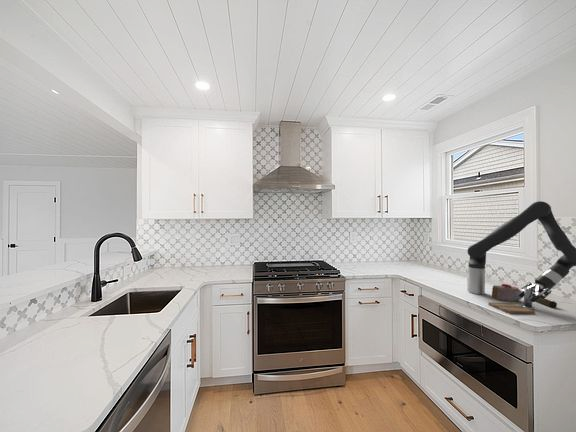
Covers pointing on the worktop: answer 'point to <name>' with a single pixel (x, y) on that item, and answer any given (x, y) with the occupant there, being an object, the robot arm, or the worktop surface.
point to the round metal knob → (528, 299)
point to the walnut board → (511, 308)
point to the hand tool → (546, 302)
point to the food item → (506, 293)
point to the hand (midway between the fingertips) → (525, 298)
